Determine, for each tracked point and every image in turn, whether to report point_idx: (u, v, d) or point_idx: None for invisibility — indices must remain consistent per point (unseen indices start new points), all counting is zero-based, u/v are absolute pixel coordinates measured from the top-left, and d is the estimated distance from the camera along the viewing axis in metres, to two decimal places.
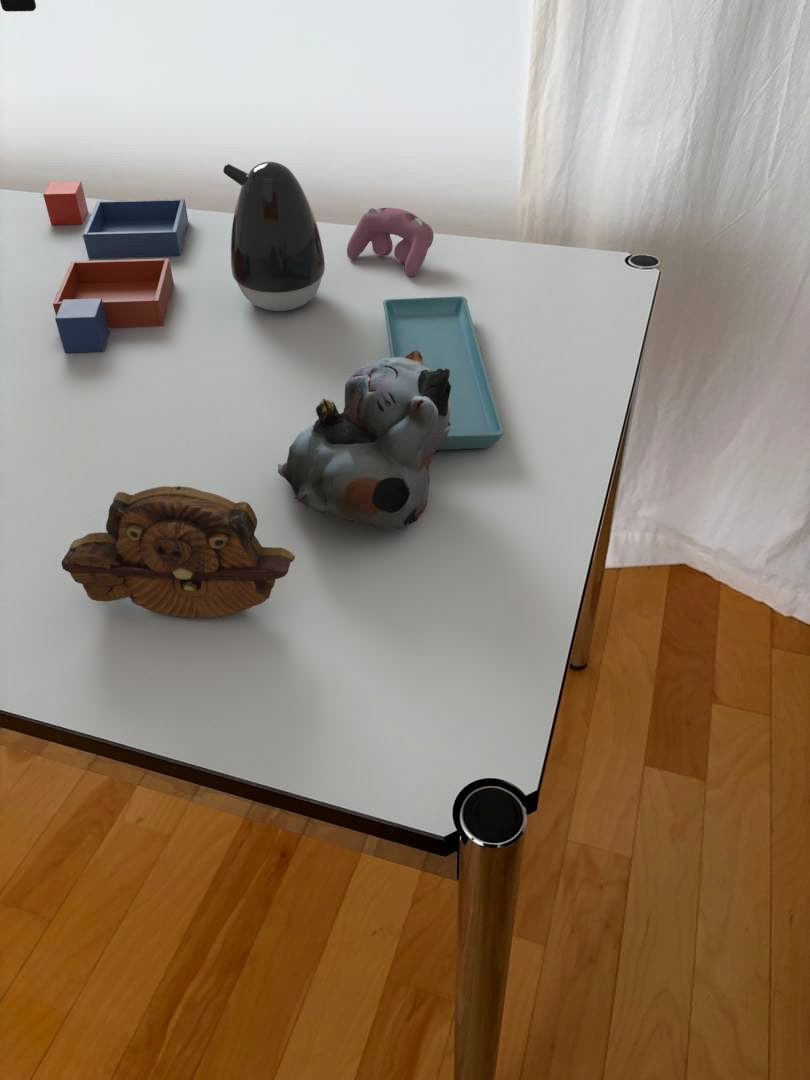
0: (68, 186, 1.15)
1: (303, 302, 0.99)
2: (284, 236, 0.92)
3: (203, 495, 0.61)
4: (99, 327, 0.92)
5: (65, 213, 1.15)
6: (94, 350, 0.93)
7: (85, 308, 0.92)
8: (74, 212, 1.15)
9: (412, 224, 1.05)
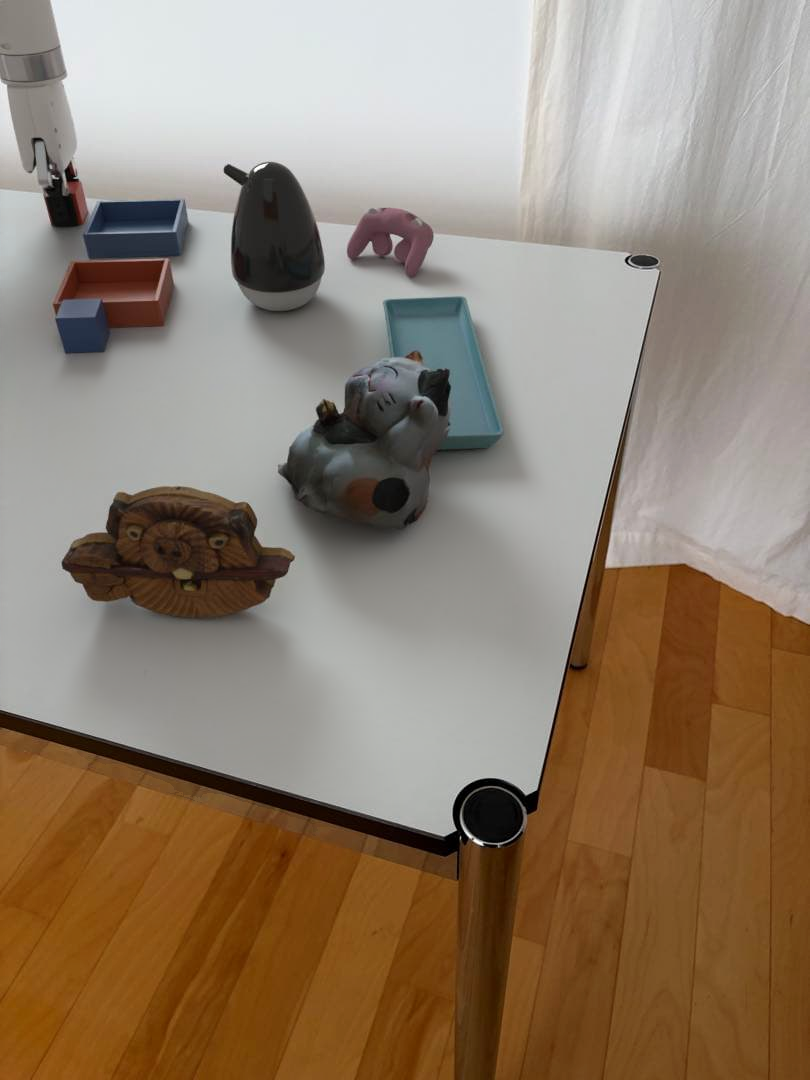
0: (68, 186, 1.15)
1: (303, 302, 0.99)
2: (285, 235, 0.92)
3: (203, 495, 0.61)
4: (99, 327, 0.92)
5: None
6: (94, 350, 0.93)
7: (85, 308, 0.92)
8: None
9: (412, 224, 1.05)
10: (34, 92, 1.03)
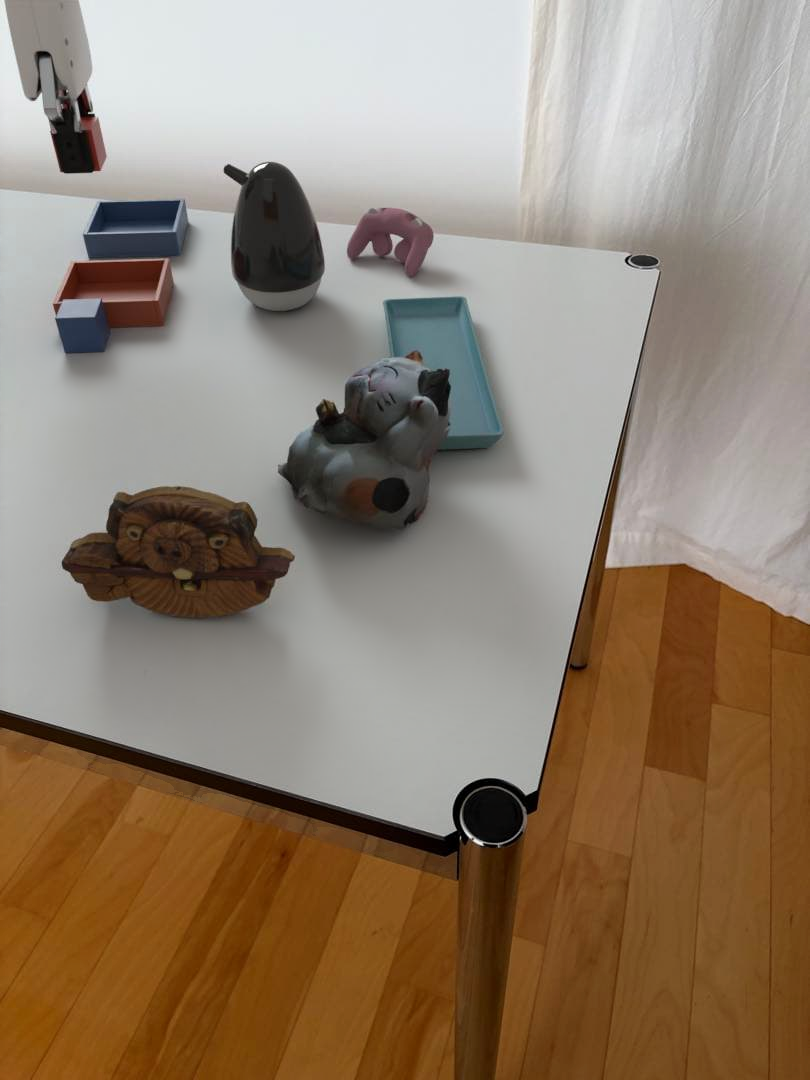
0: (81, 122, 0.90)
1: (303, 302, 0.99)
2: (285, 236, 0.92)
3: (203, 495, 0.61)
4: (99, 327, 0.92)
5: None
6: (94, 350, 0.93)
7: (85, 308, 0.92)
8: None
9: (412, 224, 1.05)
10: None
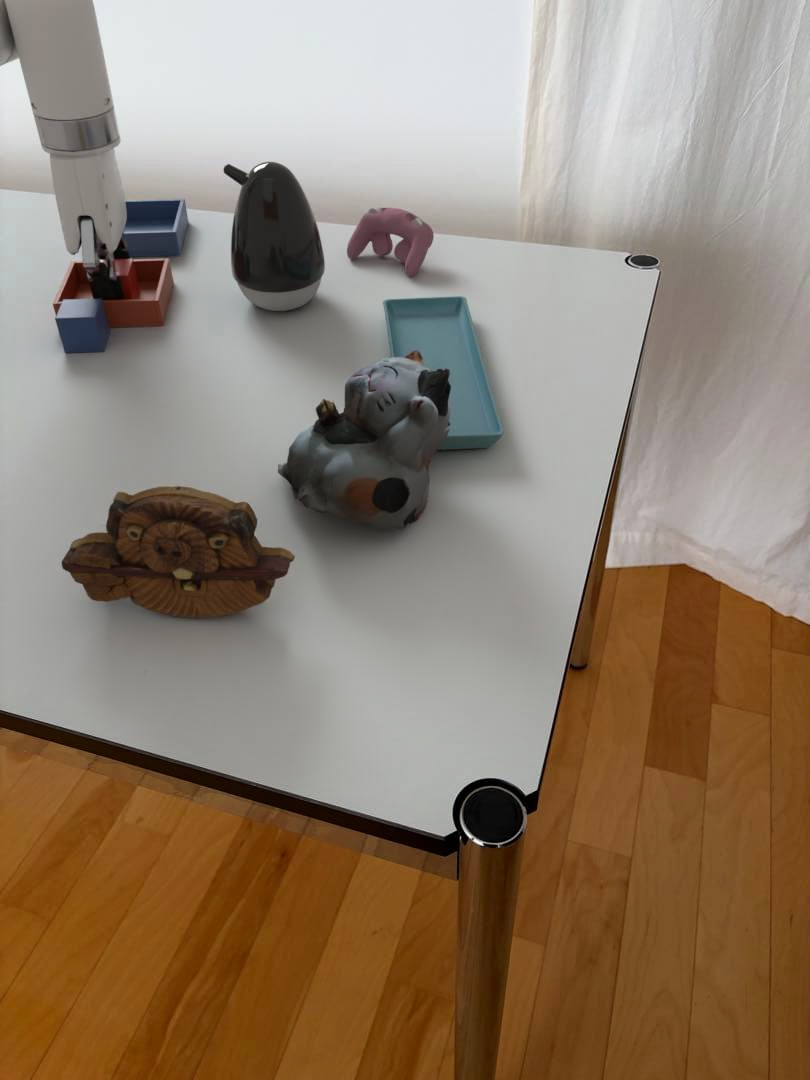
0: (118, 266, 0.98)
1: (303, 302, 0.99)
2: (285, 235, 0.92)
3: (203, 495, 0.61)
4: (99, 327, 0.92)
5: None
6: (94, 350, 0.93)
7: (85, 308, 0.92)
8: (126, 296, 0.98)
9: (412, 224, 1.05)
10: (83, 163, 0.86)
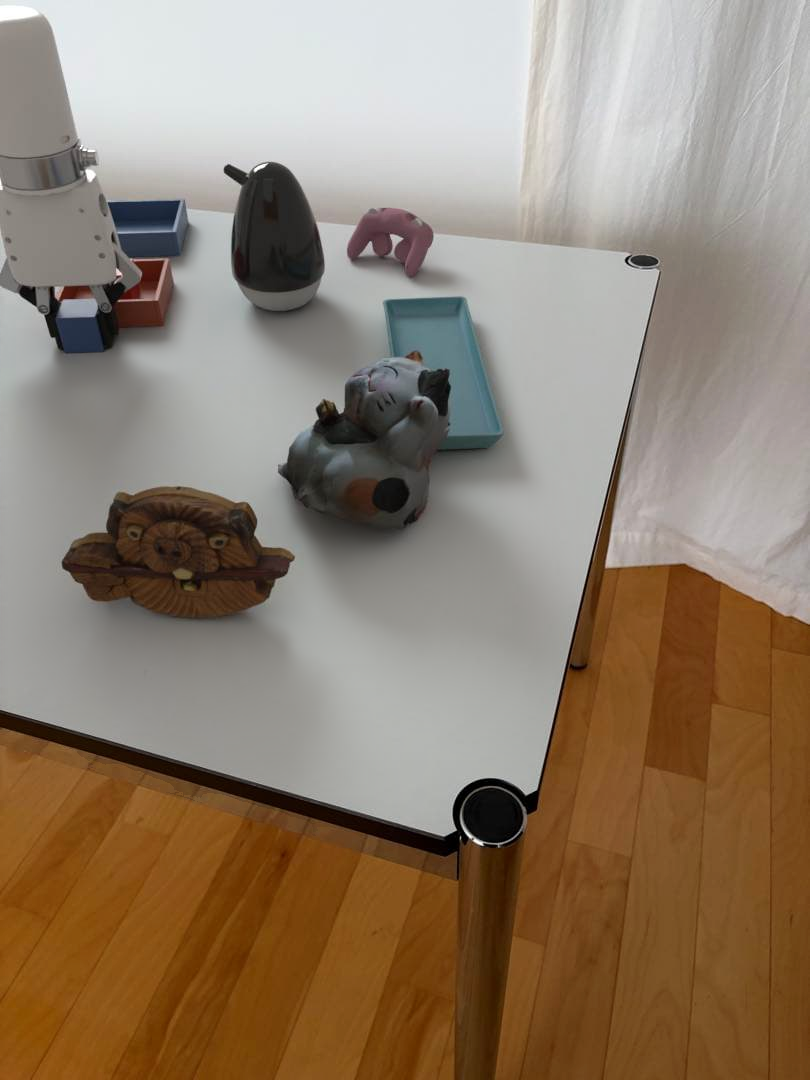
0: None
1: (303, 302, 0.99)
2: (285, 235, 0.92)
3: (204, 495, 0.61)
4: None
5: None
6: (94, 350, 0.93)
7: (85, 308, 0.92)
8: (126, 296, 0.98)
9: (412, 224, 1.05)
10: None
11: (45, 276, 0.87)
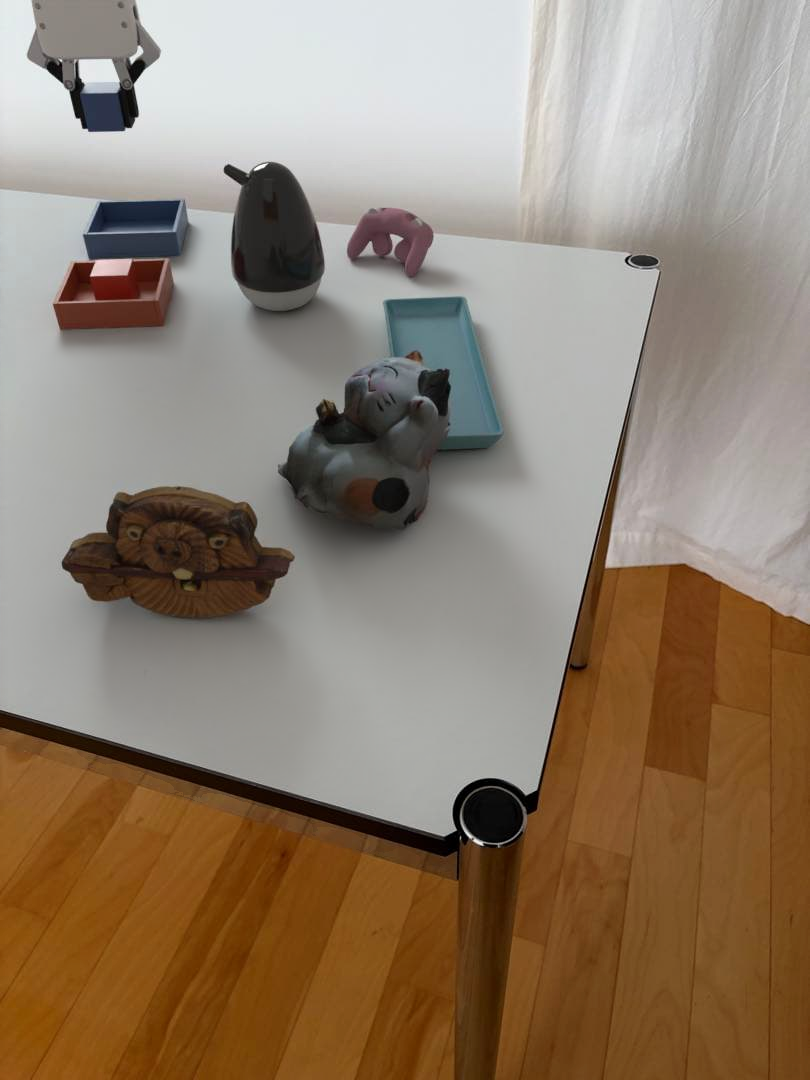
0: (118, 266, 0.98)
1: (303, 302, 0.99)
2: (285, 235, 0.92)
3: (204, 495, 0.61)
4: (120, 105, 0.98)
5: (115, 297, 0.98)
6: (116, 129, 0.99)
7: (108, 87, 0.98)
8: (126, 296, 0.98)
9: (412, 224, 1.05)
10: None
11: (71, 46, 0.93)
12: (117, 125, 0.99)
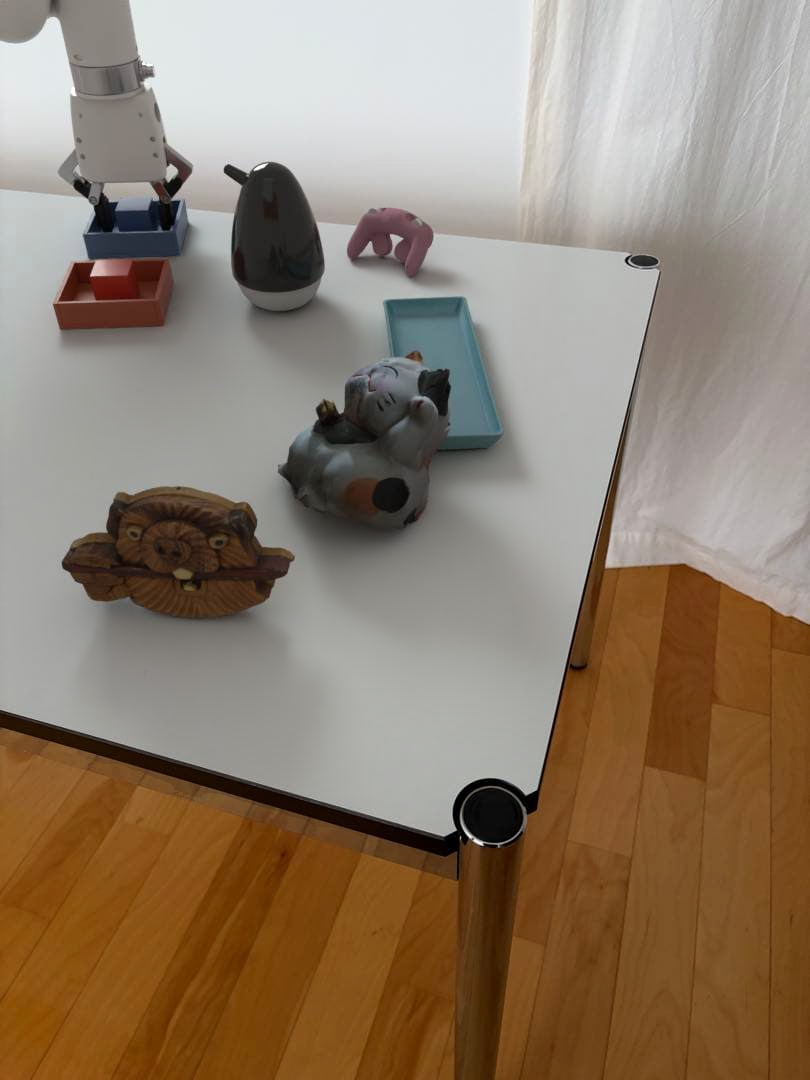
0: (118, 266, 0.98)
1: (303, 302, 0.99)
2: (285, 235, 0.92)
3: (204, 495, 0.61)
4: (151, 220, 1.10)
5: (115, 297, 0.98)
6: None
7: (139, 204, 1.10)
8: (126, 296, 0.98)
9: (412, 224, 1.05)
10: (70, 97, 1.00)
11: (108, 173, 1.05)
12: None
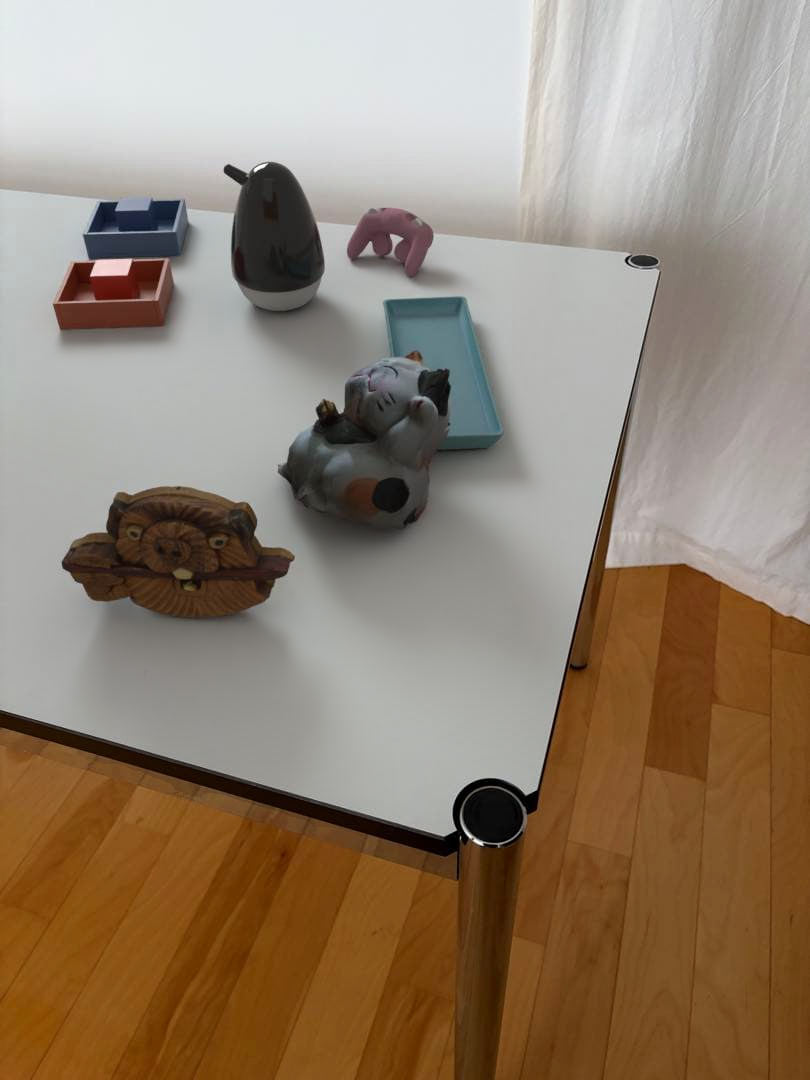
0: (118, 266, 0.98)
1: (303, 302, 0.99)
2: (285, 235, 0.92)
3: (203, 495, 0.61)
4: (151, 220, 1.10)
5: (115, 297, 0.98)
6: None
7: (139, 204, 1.10)
8: (126, 296, 0.98)
9: (412, 224, 1.05)
10: None
11: None
12: None
